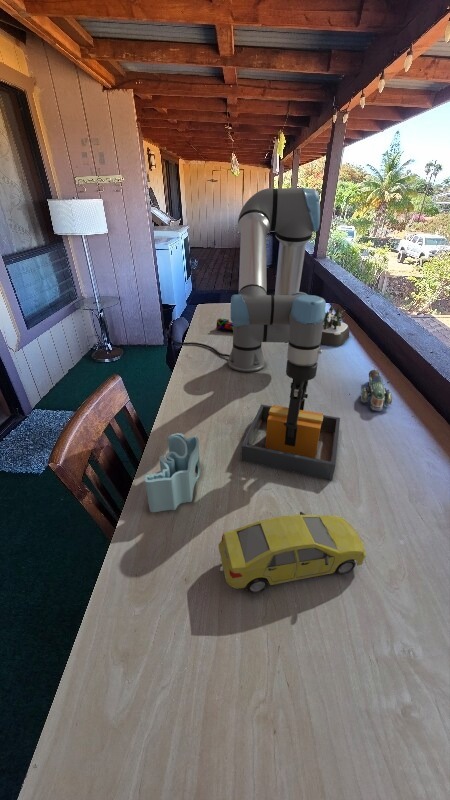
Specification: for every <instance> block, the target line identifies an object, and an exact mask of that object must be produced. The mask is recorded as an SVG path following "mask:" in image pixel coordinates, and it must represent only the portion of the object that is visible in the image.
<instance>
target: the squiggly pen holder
mask: <svg viewBox="0 0 450 800" xmlns="http://www.w3.org/2000/svg"><path fill="white" fill-rule="evenodd" d="M167 444H168V452H167V453H166V455H165V456H164V455H160V456H159V457H158V459H159V460H158V461H159V467H160V472H157V473H155V472H154V473H153V472H152V474H148V473H147V474H146V475H145V476H144V482H145V489H146V495H147V496H146V497H147V502H148V508H149V512H150V513H158V512H163V511H176V509H177V508H178V507H179V505H180V504H181V505H182V504H183V503H191V502H192V501H193V495H194V488H195V485H196V483H197V481H198V480H199V478H200V474H201V462H200V441H199V437H198V436H196V435H191V436H190V437H188V438H187V437H186V436H185V435H184V434H183V433H181V432H177V433H172V434H169V436H167ZM165 457H166V458H165ZM196 467H197V475H196Z"/></svg>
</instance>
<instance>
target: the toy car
mask: <svg viewBox="0 0 450 800" xmlns="http://www.w3.org/2000/svg"><path fill="white" fill-rule="evenodd" d="M218 552H219V555H220V560H221V565H222V569H223V574H224V579H225V582H226V584H228V585H229V586H230V587H232V588H234V590H235V589H245V588H246V591H247V592H248V593H251V594H257V593H261V592H263V591H265V589H267V588H268V586H269V585H270V586H273V585H279V584H284V583H287V582H288V583H289V582H293V581H298V580H304V579H309V578H314V577H315V578H316V577H319V576H325V575H331V574H334V573H336V574H338V575H345V574H349V573H350V572H352V571H353V569H355V567H356V566H357V567H358V566H361V565H363V563H364V560H365V558H366V556H367V554H366V548H365V544H364V542H363V540H362V538H361V536H360V534H359V532H358V530H357V529H356V528H355V527H354V526H353V525H352V524H351V523H350V522H349V521H348V520H347V519H345V518H344V517H342V516H337V515H333V514H327V515H326V514H325V515H324V514H323V515H322V514H321V515H317V514H315V515H314V514H306V513H304V512H303V511H300V512H299V514H289V515H283V516H282V515H281V516H276V517H272V518H267V519H263V520H258V521H256V522H253V523H249V524H247V525H244V526H241V527H239V528H236V529H232V530H229V531H226V532H223V534H222V535H221V540H220V542H219V543H218Z"/></svg>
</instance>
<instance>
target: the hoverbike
mask: <svg viewBox="0 0 450 800" xmlns="http://www.w3.org/2000/svg"><path fill="white" fill-rule="evenodd" d="M376 368H377V369H376ZM390 383H391V381H386V383H385V384H384V378H383V376H381V374H380V372H379V369H378V367H377V366H376V367H374V368H373V369H371V370H370V371H369V372H368V381H367V386H364V387H362V389H361V393H360V395H361V398H360V401H361V403H366V402H369V398H370V405H369V406H370V409H371V411H372V412H375V413H379V412H380V411H382V410H383V408H384V406H383V405H385V406H386V407H389V406H390V405H392V404H393V403H392V402H393V396H392V394H391V391H390V389H387V388H386V387H385V385H388V384H390Z"/></svg>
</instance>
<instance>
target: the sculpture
mask: <svg viewBox="0 0 450 800" xmlns="http://www.w3.org/2000/svg"><path fill="white" fill-rule="evenodd" d="M215 329H216V330H219V331H227V330H232V331H233V322H232V321H230V320H229V319H226V318H221V317H220V318H218V319H217V320H216V328H215Z"/></svg>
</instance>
